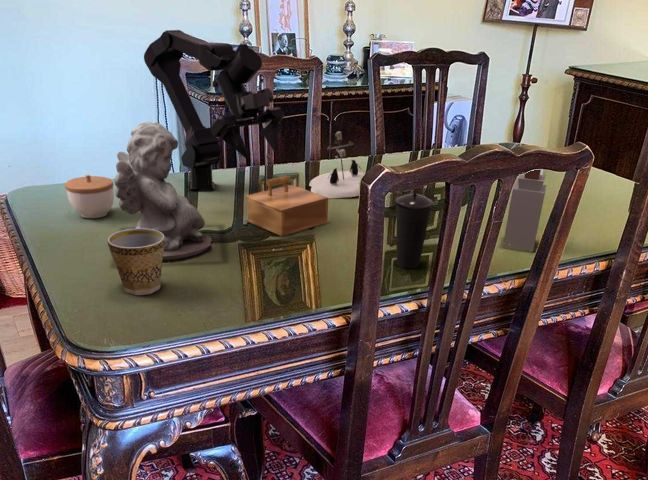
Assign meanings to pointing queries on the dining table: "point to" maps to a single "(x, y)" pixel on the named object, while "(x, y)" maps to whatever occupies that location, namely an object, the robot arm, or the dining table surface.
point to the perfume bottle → (525, 211)
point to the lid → (285, 196)
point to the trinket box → (90, 195)
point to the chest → (287, 218)
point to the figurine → (338, 177)
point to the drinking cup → (411, 228)
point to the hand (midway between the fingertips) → (262, 154)
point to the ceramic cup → (138, 259)
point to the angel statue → (159, 193)
